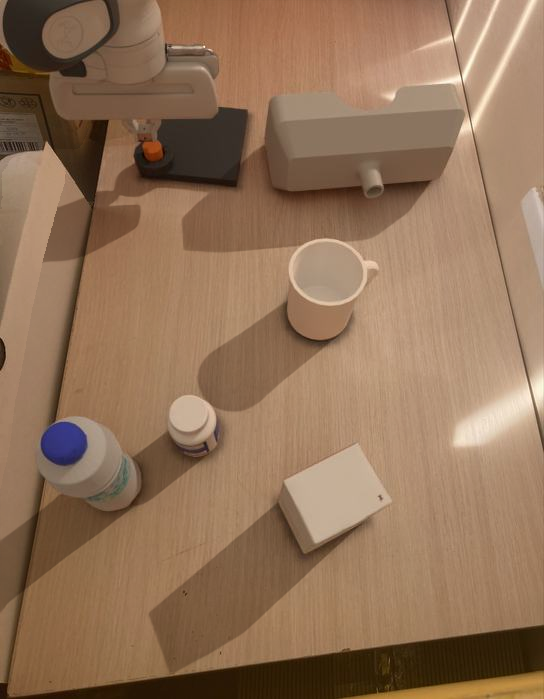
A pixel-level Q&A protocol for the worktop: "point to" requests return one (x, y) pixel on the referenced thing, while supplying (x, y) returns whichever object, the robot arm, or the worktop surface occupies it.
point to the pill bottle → (193, 425)
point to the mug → (325, 287)
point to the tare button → (153, 151)
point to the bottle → (87, 463)
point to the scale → (198, 149)
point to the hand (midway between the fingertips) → (146, 138)
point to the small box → (331, 497)
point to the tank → (361, 139)
